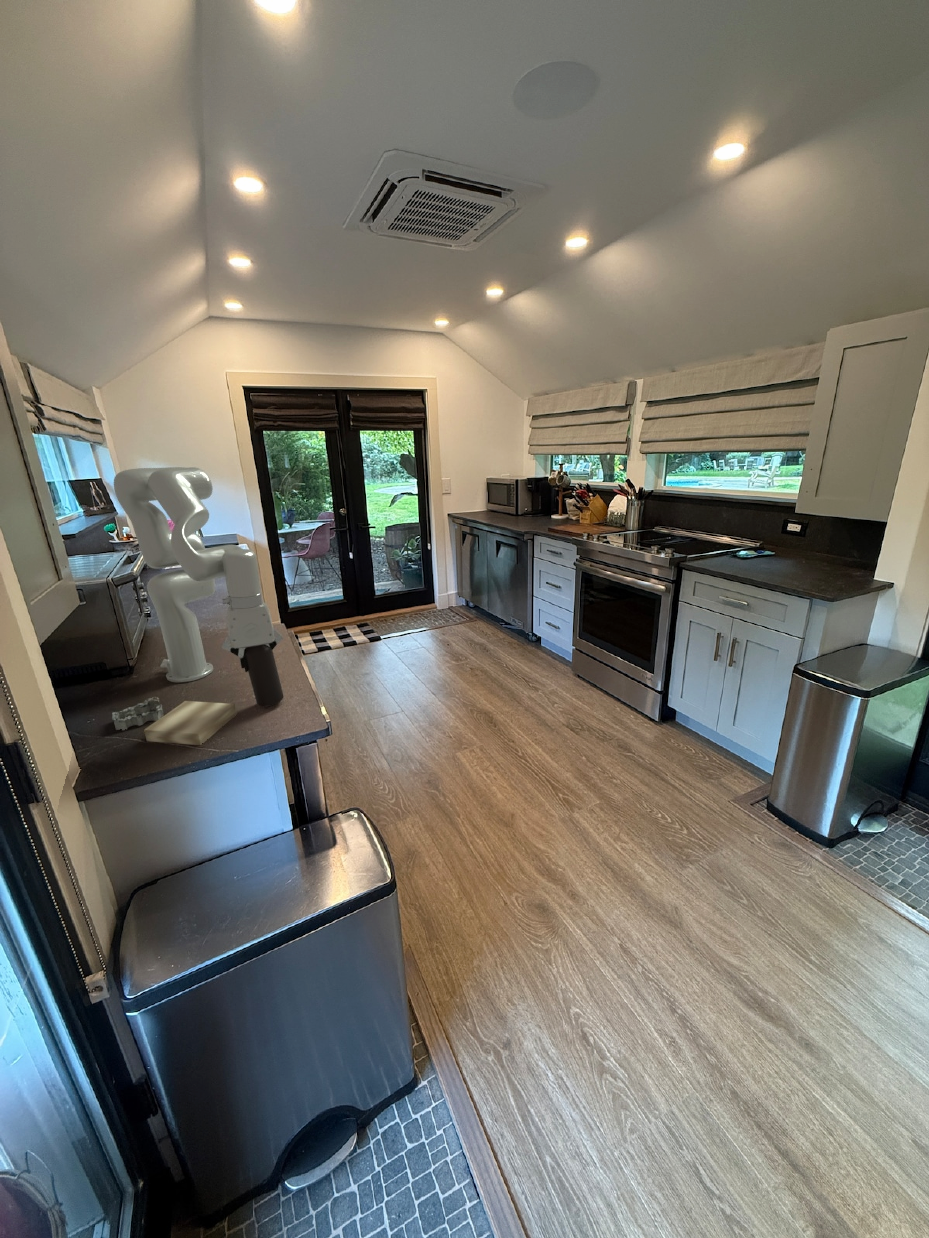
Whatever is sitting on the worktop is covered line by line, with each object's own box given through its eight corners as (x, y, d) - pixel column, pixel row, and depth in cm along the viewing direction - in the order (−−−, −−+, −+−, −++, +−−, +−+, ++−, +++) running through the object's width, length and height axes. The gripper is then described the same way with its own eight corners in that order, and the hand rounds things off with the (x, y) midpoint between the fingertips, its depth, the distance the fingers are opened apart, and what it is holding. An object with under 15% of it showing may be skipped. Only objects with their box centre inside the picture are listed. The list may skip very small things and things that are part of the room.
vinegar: (270, 708, 126) (252, 637, 118) (251, 704, 128) (232, 634, 121) (289, 695, 131) (272, 626, 124) (270, 692, 134) (253, 624, 127)
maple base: (146, 741, 115) (143, 729, 114) (187, 711, 128) (185, 700, 127) (200, 745, 112) (198, 733, 111) (236, 714, 125) (234, 703, 124)
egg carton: (163, 708, 130) (159, 694, 129) (165, 720, 124) (161, 706, 123) (114, 720, 124) (110, 706, 123) (114, 733, 118) (110, 719, 117)
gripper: (207, 609, 113) (221, 680, 119) (284, 600, 120) (293, 667, 126) (208, 601, 120) (220, 668, 126) (280, 592, 127) (289, 656, 133)
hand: (257, 667), depth 126 cm, fingers closed on vinegar, 4 cm apart
